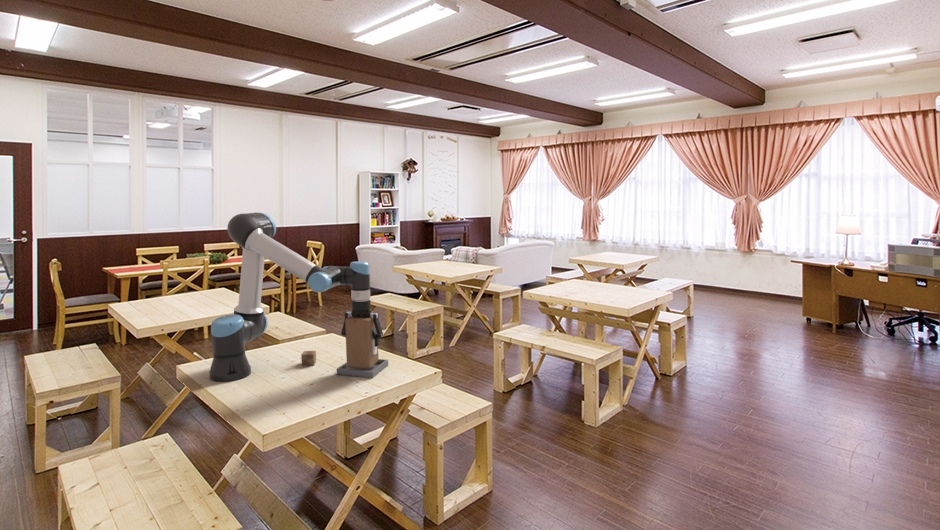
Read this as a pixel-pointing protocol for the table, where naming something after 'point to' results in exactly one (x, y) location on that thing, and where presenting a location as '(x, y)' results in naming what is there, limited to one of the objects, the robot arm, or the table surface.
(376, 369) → the tray
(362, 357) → the wooden block
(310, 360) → the walnut cube
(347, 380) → the table surface
